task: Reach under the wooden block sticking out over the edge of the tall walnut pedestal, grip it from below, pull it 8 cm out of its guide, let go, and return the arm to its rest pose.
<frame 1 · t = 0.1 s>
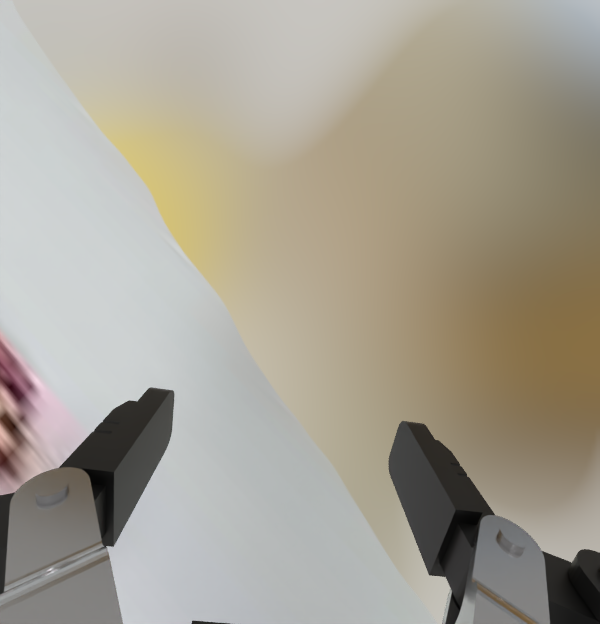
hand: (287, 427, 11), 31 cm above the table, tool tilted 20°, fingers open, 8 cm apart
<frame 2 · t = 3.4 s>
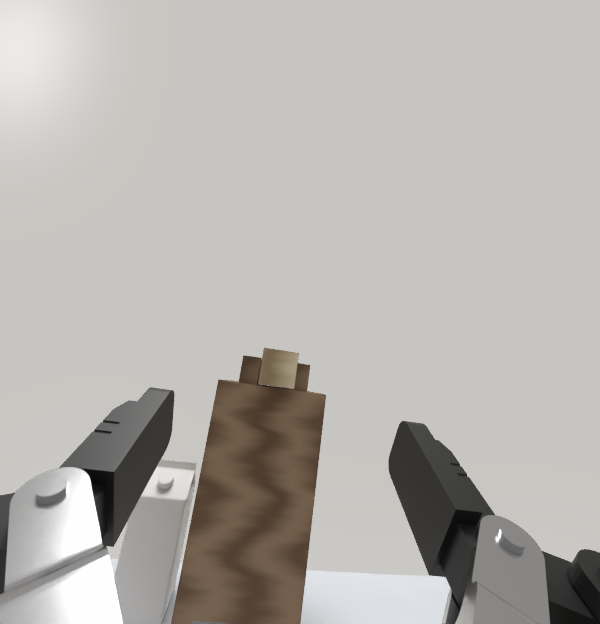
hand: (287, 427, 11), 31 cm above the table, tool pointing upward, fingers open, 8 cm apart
milk carton: (141, 608, 43), on the table
wooden block: (274, 372, 38), point 34 cm above the table, slide at 0.0 cm
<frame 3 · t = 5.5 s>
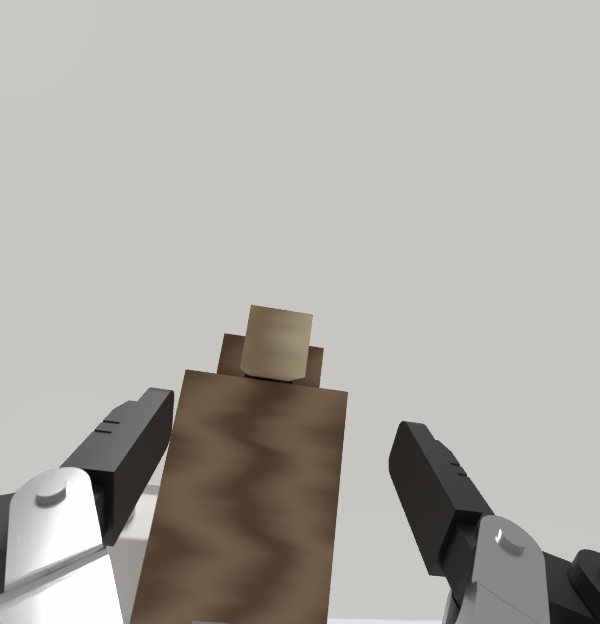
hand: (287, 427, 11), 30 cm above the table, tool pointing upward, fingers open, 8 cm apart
wooden block: (271, 361, 26), point 34 cm above the table, slide at 0.0 cm
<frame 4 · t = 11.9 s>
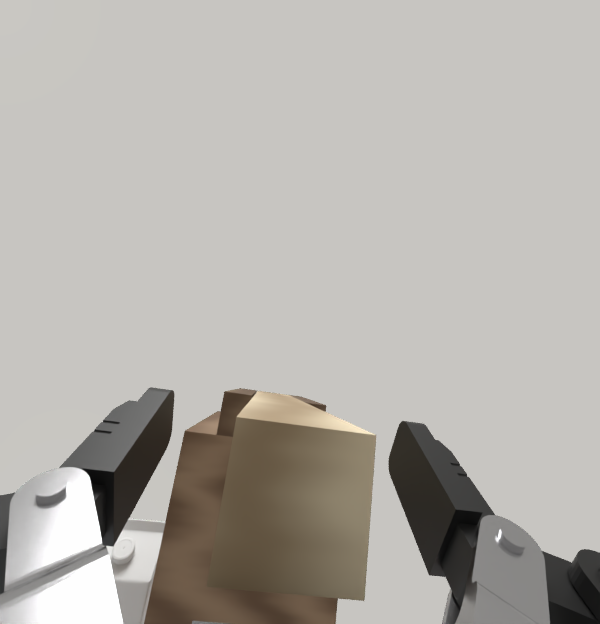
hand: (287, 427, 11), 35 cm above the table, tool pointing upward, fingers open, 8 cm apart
wooden block: (275, 425, 18), point 34 cm above the table, slide at 8.0 cm
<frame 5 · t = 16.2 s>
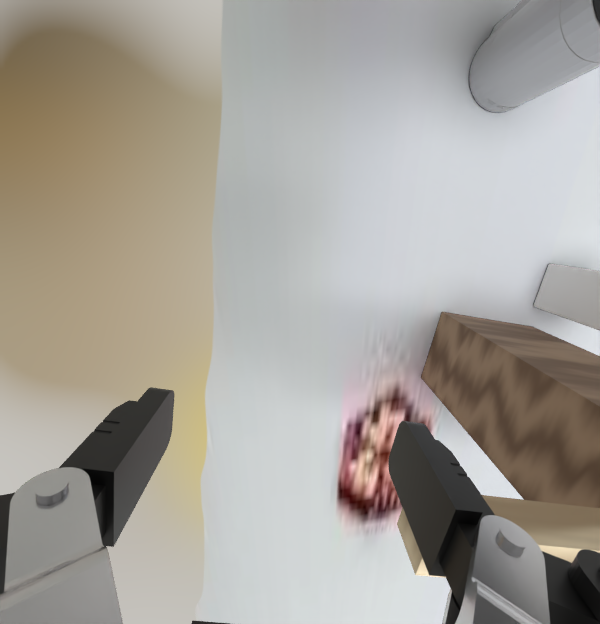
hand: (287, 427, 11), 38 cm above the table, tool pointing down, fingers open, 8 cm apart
milk carton: (559, 287, 50), on the table
pedestal: (475, 352, 53), on the table
wooden block: (596, 546, 19), point 34 cm above the table, slide at 8.0 cm
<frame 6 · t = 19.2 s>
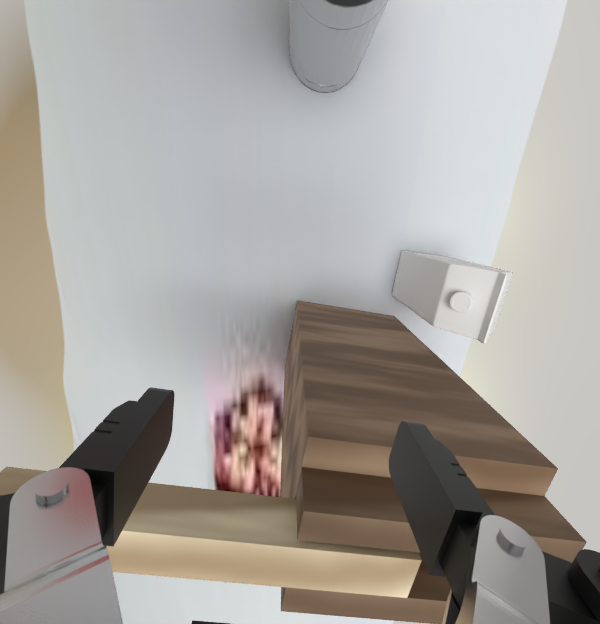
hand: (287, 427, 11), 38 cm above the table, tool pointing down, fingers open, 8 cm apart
milk carton: (417, 275, 49), on the table
pedestal: (338, 343, 51), on the table
wooden block: (205, 532, 18), point 34 cm above the table, slide at 8.0 cm
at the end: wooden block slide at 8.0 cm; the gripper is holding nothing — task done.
